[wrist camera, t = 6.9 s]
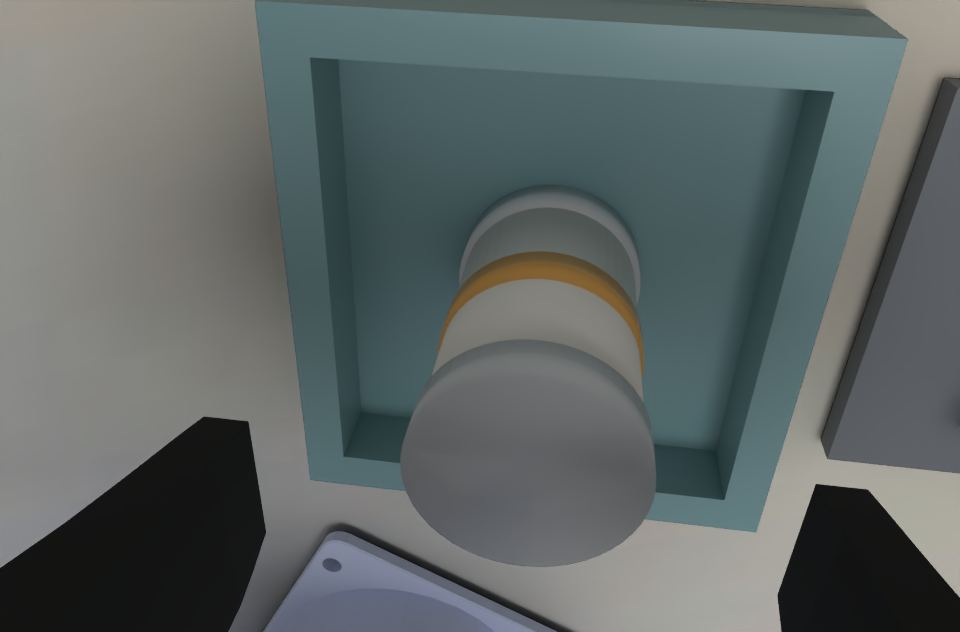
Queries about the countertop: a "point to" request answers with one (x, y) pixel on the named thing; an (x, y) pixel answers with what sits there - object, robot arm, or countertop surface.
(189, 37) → the countertop surface
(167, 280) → the countertop surface
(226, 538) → the robot arm
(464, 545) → the marked fuse
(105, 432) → the countertop surface
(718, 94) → the tray
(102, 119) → the countertop surface
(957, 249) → the fuse board
